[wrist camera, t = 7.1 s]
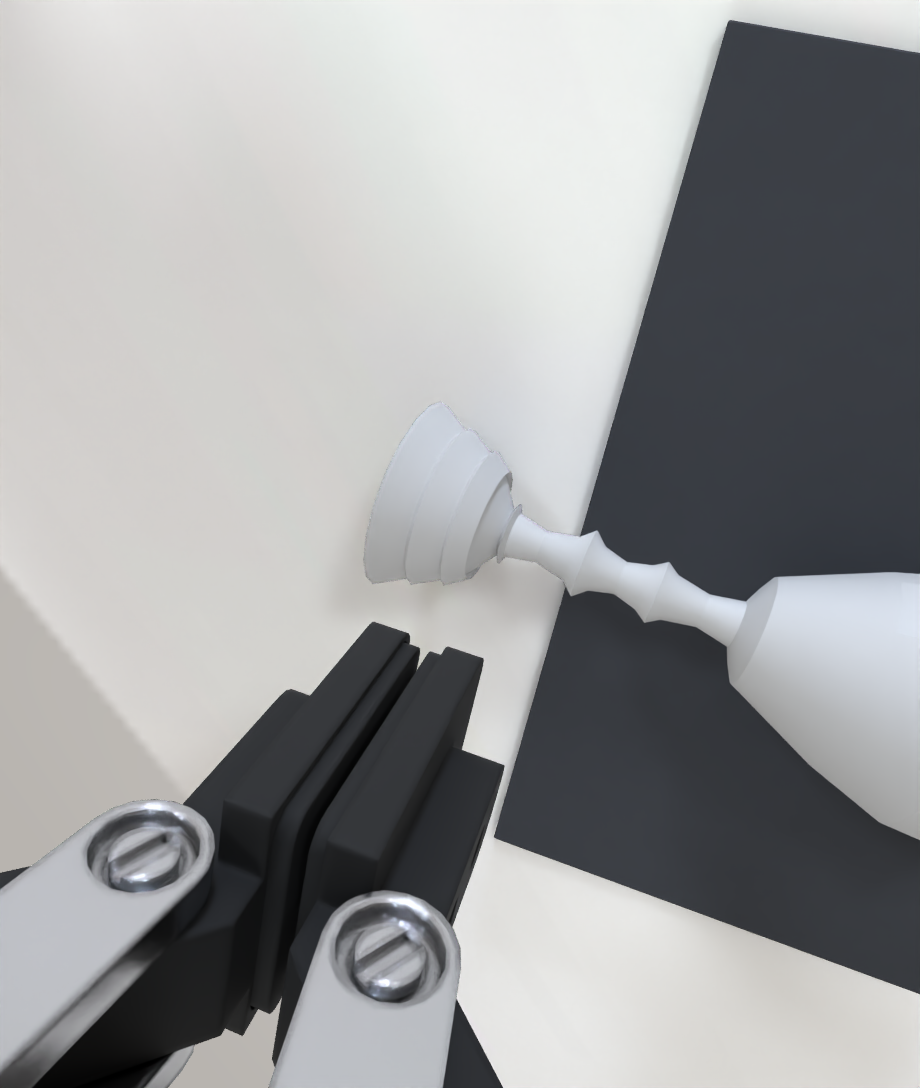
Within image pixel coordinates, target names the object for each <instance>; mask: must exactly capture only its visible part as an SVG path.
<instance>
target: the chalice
mask: <svg viewBox="0 0 920 1088" xmlns="http://www.w3.org/2000/svg"><path fill="white" fill-rule="evenodd" d="M512 480H513V479H512V473H511V471H510V470H509V468H508V466H507V465H506V463H505V462H504V460H503V458H502V457H501V455H500V453H498V452H497V451H494V452H491V451H490V450H489V448H488V447H487V446H486V444H485V443H484V442H483V441H482V439H481V438H480V437H479V435H478V434H477V433H476V432H475V431H474V430H472V429H471V428H470V429H468V430H466V429H465V428H464V426H463V425H462V424H461V423H460V421H459V420H458V419H457V417H456V416H455V415H454V413H453V412H452V411H451V409H450V408H449V407H448V406H447V405H445V404H444V403H442V402H438V403H436V404H433V405H430V406H429V407H428V408H427V409H426V410H425V411H424V412H423V413H422V414H421V415H420V416H419V417H418V418H417V419H416V420H415V421H414V423H413V424H412V426H411V427H410V429H409V430H408V432H407V433H406V435H405V436H404V438H403V439H402V441H401V442H400V444H399V446H398V448H397V450H396V452H395V454H394V456H393V458H392V461H391V463H390V465H389V467H388V469H387V471H386V473H385V475H384V478H383V481H382V484H381V486H380V489H379V492H378V494H377V497H376V500H375V503H374V506H373V510H372V514H371V518H370V522H369V526H368V530H367V534H366V541H365V551H364V566H365V573H366V577H367V578H368V579H369V580H370V582H371V583H372V584H376V583H383V582H389V581H396V580H402V579H407V580H408V581H409V582H410V584H411V585H412V584H418V583H425V582H431V581H438V580H441V582H442V583H443V585H448V584H452V583H455V582H459V581H462V580H466V579H470V578H472V577H473V576H474V575H475V573H476V572H477V571H478V569H479V568H480V566H481V565H482V564H484V563H485V562H487V561H488V560H490V559H491V558H493V557H494V556H496V555H497V563H500V562H501V561H502V560H503V559H504V558H505V557H509V558H514V559H520V560H525V561H530V562H536V563H537V564H539V565H540V566H542V567H543V568H545V569H546V570H548V571H549V572H551V573H553V574H554V575H556V576H557V577H559V578H560V579H562V580H563V582H564V584H565V586H566V588H567V590H568V592H569V594H570V596H574V595H577V594H579V593H582V592H585V591H595V592H603V593H611V594H615V595H616V596H617V597H619V598H620V599H621V600H623V601H624V602H626V603H627V604H628V605H630V606H631V607H632V608H634V609H635V610H636V612H637V613H638V614H639V616H640V617H641V619H642V620H643V622H644V623H646V622H651V621H656V620H664V621H669V622H674V623H679V624H684V625H689V626H694V627H697V628H698V629H700V630H702V631H703V632H705V633H706V634H708V635H710V636H711V637H713V638H714V639H716V640H717V641H719V642H721V643H722V644H724V645H725V646H727V665H728V673H729V681H730V683H731V685H732V686H733V687H734V688H735V689H736V690H737V691H738V692H739V693H740V694H741V695H742V696H743V697H744V698H745V699H746V700H747V701H748V702H749V703H750V704H751V705H752V706H753V707H754V708H755V709H756V710H757V711H758V713H759V714H760V715H761V716H762V717H763V718H764V719H765V720H766V721H767V722H768V723H769V724H770V725H771V726H772V727H773V728H774V729H775V730H776V731H777V732H778V733H779V734H780V735H781V736H782V737H783V738H784V739H785V740H786V741H787V742H788V743H789V744H790V746H791V747H792V748H793V749H794V750H795V751H796V752H797V753H798V754H799V755H800V756H801V757H802V758H803V759H804V760H805V761H806V762H807V763H808V764H809V765H810V766H811V767H812V768H814V769H815V770H816V771H817V772H819V773H820V774H821V775H822V776H823V777H825V778H826V779H827V780H828V781H829V782H831V783H832V784H833V785H834V786H836V787H837V788H838V789H839V790H840V791H842V792H843V793H844V794H845V795H847V796H848V797H849V798H850V799H851V800H853V801H854V802H855V803H856V804H858V805H859V806H860V807H861V808H862V809H864V810H865V811H866V812H867V813H868V814H870V815H871V816H872V817H873V818H875V819H876V820H877V821H878V822H879V823H882V824H884V825H886V826H889V827H891V828H893V829H896V830H898V831H900V832H902V833H905V834H907V835H909V836H912V837H914V838H916V839H919V840H920V574H912V573H898V572H883V573H859V574H835V575H811V576H787V577H774V578H773V579H771V580H770V581H769V582H768V583H766V584H765V585H764V586H762V587H761V588H760V589H759V590H758V591H757V592H756V593H755V594H753V595H752V596H751V597H750V598H749V599H748V600H747V601H740V600H735V599H730V598H725V597H720V596H715V595H710V594H708V593H706V592H705V591H703V590H702V589H700V588H698V587H697V586H695V585H694V584H692V583H690V582H689V581H687V580H685V579H684V578H682V577H681V576H679V575H678V574H677V572H676V571H675V569H674V568H673V567H672V565H671V564H670V562H667V563H662V564H657V565H647V564H639V563H631V562H626V561H625V560H623V559H622V558H621V557H619V556H618V555H616V554H615V553H614V552H612V551H611V550H609V549H608V548H607V547H606V546H605V544H604V542H603V540H602V538H601V536H600V535H599V533H598V531H594V532H592V533H589V534H586V535H583V536H581V537H579V536H573V535H567V534H562V533H556V532H550V531H547V530H546V529H544V528H543V527H541V526H539V525H538V524H536V523H535V522H533V521H532V520H530V519H529V518H527V517H526V516H524V515H523V514H522V505H521V504H520V505H519V506H518V507H517V508H516V509H515V510H514V506H513V502H512V497H511V488H512Z"/></svg>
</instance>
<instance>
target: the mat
mask: <svg viewBox="0 0 920 1088" xmlns="http://www.w3.org/2000/svg"><path fill="white" fill-rule="evenodd" d="M594 531H598V533H599V535H600V536H601V538H602V540H603V542H604V544H605V546H606V547H607V548H608V549H609V550H611V551H612V552H614V553H615V554H616V555H618V556H619V557H621V558H622V559H623V560H625V561H626V562H631V563H639V564H647V565H657V564H662V563H667V562H670V564H671V565H672V567H673V568H674V569H675V571H676V572H677V574H678V575H679V576H681V577H682V578H684V579H685V580H687V581H689V582H690V583H692V584H694V585H695V586H697V587H698V588H700V589H702V590H703V591H705V592H706V593H708V594H710V595H715V596H720V597H725V598H730V599H735V600H740V601H747V600H748V599H749V598H750V597H751V596H752V595H753V594H755V593H756V592H757V591H758V590H759V589H760V588H761V587H762V586H764V585H765V584H766V583H768V582H769V581H770V580H771V579H773V578H774V577H787V576H811V575H835V574H859V573H883V572H898V573H912V574H920V53H915V52H910V51H904V50H898V49H893V48H887V47H881V46H875V45H870V44H864V43H858V42H853V41H847V40H841V39H835V38H830V37H824V36H818V35H813V34H807V33H801V32H795V31H790V30H784V29H778V28H772V27H767V26H761V25H755V24H750V23H744V22H738V21H732V20H730V21H729V22H728V24H727V27H726V31H725V34H724V38H723V41H722V45H721V48H720V51H719V55H718V58H717V62H716V65H715V69H714V72H713V76H712V79H711V83H710V86H709V90H708V93H707V97H706V100H705V104H704V107H703V111H702V114H701V118H700V121H699V125H698V128H697V132H696V135H695V139H694V142H693V146H692V149H691V152H690V156H689V159H688V163H687V166H686V170H685V173H684V177H683V180H682V184H681V187H680V191H679V194H678V198H677V201H676V205H675V208H674V212H673V215H672V219H671V222H670V226H669V229H668V233H667V236H666V240H665V243H664V247H663V250H662V254H661V257H660V260H659V264H658V267H657V271H656V274H655V278H654V281H653V285H652V288H651V292H650V295H649V299H648V302H647V306H646V309H645V313H644V316H643V320H642V323H641V327H640V330H639V334H638V337H637V341H636V344H635V348H634V351H633V355H632V358H631V361H630V365H629V368H628V372H627V375H626V379H625V382H624V386H623V389H622V393H621V396H620V400H619V403H618V407H617V410H616V414H615V417H614V421H613V424H612V428H611V431H610V435H609V438H608V442H607V445H606V449H605V452H604V456H603V459H602V462H601V466H600V469H599V473H598V476H597V480H596V483H595V487H594V490H593V494H592V497H591V501H590V504H589V508H588V511H587V515H586V518H585V522H584V525H583V529H582V532H581V536H583V535H586V534H589V533H592V532H594ZM581 536H580V537H581ZM494 838H496V839H499V840H501V841H504V842H507V843H510V844H512V845H515V846H518V847H521V848H523V849H526V850H529V851H531V852H534V853H537V854H540V855H542V856H545V857H548V858H550V859H553V860H556V861H559V862H561V863H564V864H567V865H570V866H572V867H575V868H578V869H580V870H583V871H586V872H589V873H591V874H594V875H597V876H600V877H602V878H605V879H608V880H610V881H613V882H616V883H619V884H621V885H624V886H627V887H629V888H632V889H635V890H638V891H640V892H643V893H646V894H649V895H651V896H654V897H657V898H659V899H662V900H665V901H668V902H670V903H673V904H676V905H679V906H681V907H684V908H687V909H689V910H692V911H695V912H698V913H700V914H703V915H706V916H709V917H711V918H714V919H717V920H719V921H722V922H725V923H728V924H730V925H733V926H736V927H738V928H741V929H744V930H747V931H749V932H752V933H755V934H758V935H760V936H763V937H766V938H768V939H771V940H774V941H777V942H779V943H782V944H785V945H788V946H790V947H793V948H796V949H798V950H801V951H804V952H807V953H809V954H812V955H815V956H817V957H820V958H823V959H826V960H828V961H831V962H834V963H837V964H839V965H842V966H845V967H847V968H850V969H853V970H856V971H858V972H861V973H864V974H867V975H869V976H872V977H875V978H877V979H880V980H883V981H886V982H888V983H891V984H894V985H896V986H899V987H902V988H905V989H907V990H910V991H913V992H916V993H918V994H920V840H919V839H916V838H914V837H912V836H909V835H907V834H905V833H902V832H900V831H898V830H896V829H893V828H891V827H889V826H886V825H884V824H882V823H879V822H878V821H877V820H876V819H875V818H873V817H872V816H871V815H870V814H868V813H867V812H866V811H865V810H864V809H862V808H861V807H860V806H859V805H858V804H856V803H855V802H854V801H853V800H851V799H850V798H849V797H848V796H847V795H845V794H844V793H843V792H842V791H840V790H839V789H838V788H837V787H836V786H834V785H833V784H832V783H831V782H829V781H828V780H827V779H826V778H825V777H823V776H822V775H821V774H820V773H819V772H817V771H816V770H815V769H814V768H812V767H811V766H810V765H809V764H808V763H807V762H806V761H805V760H804V759H803V758H802V757H801V756H800V755H799V754H798V753H797V752H796V751H795V750H794V749H793V748H792V747H791V746H790V744H789V743H788V742H787V741H786V740H785V739H784V738H783V737H782V736H781V735H780V734H779V733H778V732H777V731H776V730H775V729H774V728H773V727H772V726H771V725H770V724H769V723H768V722H767V721H766V720H765V719H764V718H763V717H762V716H761V715H760V714H759V713H758V711H757V710H756V709H755V708H754V707H753V706H752V705H751V704H750V703H749V702H748V701H747V700H746V699H745V698H744V697H743V696H742V695H741V694H740V693H739V692H738V691H737V690H736V689H735V688H734V687H733V686H732V685H731V683H730V681H729V673H728V665H727V646H725V645H724V644H722V643H721V642H719V641H717V640H716V639H714V638H713V637H711V636H710V635H708V634H706V633H705V632H703V631H702V630H700V629H698V628H697V627H694V626H689V625H684V624H679V623H674V622H669V621H664V620H656V621H651V622H646V623H644V622H643V620H642V619H641V617H640V616H639V614H638V613H637V612H636V610H635V609H634V608H632V607H631V606H630V605H628V604H627V603H626V602H624V601H623V600H621V599H620V598H619V597H617V596H616V595H615V594H611V593H603V592H595V591H585V592H582V593H579V594H577V595H574V596H570V594H569V592H568V590H567V588H565V591H564V595H563V598H562V602H561V605H560V609H559V612H558V616H557V619H556V623H555V626H554V630H553V633H552V637H551V640H550V644H549V647H548V651H547V654H546V658H545V661H544V665H543V668H542V671H541V675H540V678H539V682H538V685H537V689H536V692H535V696H534V699H533V703H532V706H531V710H530V713H529V717H528V720H527V724H526V727H525V731H524V734H523V738H522V741H521V745H520V748H519V752H518V755H517V759H516V762H515V766H514V769H513V773H512V776H511V779H510V783H509V786H508V790H507V793H506V797H505V800H504V804H503V807H502V811H501V814H500V818H499V821H498V825H497V828H496V832H495V835H494Z"/></svg>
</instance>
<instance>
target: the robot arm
mask: <svg viewBox="0 0 920 1088" xmlns="http://www.w3.org/2000/svg"><path fill="white" fill-rule="evenodd" d="M409 643H410V635H409V633H406V632H403V631H400V630H397V629H394V628H391V627H388V626H385V625H382V624H379V623H376V622H372V623H371V624H370V625H369V626H368V627H367V628H366V629H365V631H364V632H363V633H362V634H361V635H360V637H359V638H358V639H357V640H356V641H355V643H354V644H353V645H352V646H351V647H350V649H349V650H348V651H347V652H346V653H345V655H344V656H343V657H342V658H341V659H340V661H339V662H338V663H337V664H336V665H335V667H334V668H333V669H332V670H331V671H330V672H329V674H328V675H327V676H326V677H325V678H324V680H323V681H322V682H321V683H320V684H319V686H318V687H317V688H316V689H315V690H314V692H313V693H312V694H311V695H310V696H309V695H306V694H304V693H301V692H298V691H295V690H292V689H290V690H286V691H285V692H284V693H283V694H282V695H281V696H280V697H279V698H278V699H277V700H276V701H275V702H274V703H273V704H272V705H271V707H270V708H269V709H268V710H267V711H266V712H265V713H264V714H263V715H262V717H261V718H260V719H259V720H258V721H257V722H256V723H255V724H254V725H253V727H252V728H251V729H250V730H249V731H248V732H247V733H246V734H245V735H244V737H243V738H242V739H241V740H240V741H239V742H238V743H237V744H236V746H235V747H234V748H233V749H232V750H231V751H230V752H229V753H228V754H227V756H226V757H225V758H224V759H223V760H222V761H221V762H220V763H219V764H218V766H217V767H216V768H215V769H214V770H213V771H212V772H211V773H210V774H209V776H208V777H207V778H206V779H205V780H204V781H203V782H202V783H201V785H200V786H199V787H198V788H197V789H196V790H195V791H194V792H193V793H192V795H191V796H190V797H189V798H188V799H187V800H186V801H185V802H184V803H183V805H182V804H180V803H177V802H174V801H166V800H158V799H151V800H140V801H132V802H129V803H126V804H123V805H120V806H117V807H113V808H111V809H109V810H108V811H106V812H104V813H103V814H101V815H99V816H97V817H96V818H94V819H93V820H91V821H90V822H89V823H87V824H86V825H85V826H83V827H82V828H81V829H79V830H78V831H77V832H76V833H74V834H73V835H72V836H70V837H69V838H68V839H66V840H65V841H64V842H62V843H61V844H60V845H58V846H57V847H56V848H54V849H53V850H52V851H50V852H49V853H48V854H46V855H45V856H44V857H43V858H41V859H40V860H38V861H37V862H36V863H34V864H33V865H32V866H30V867H25V868H20V869H16V870H11V871H7V872H2V873H0V1088H168V1087H169V1086H170V1085H171V1083H172V1082H173V1081H174V1080H175V1078H176V1077H177V1076H178V1075H179V1074H180V1072H181V1071H182V1070H183V1068H184V1066H185V1065H186V1063H187V1061H188V1060H189V1058H190V1056H191V1055H192V1053H193V1050H194V1046H195V1044H198V1043H201V1042H204V1041H207V1040H209V1039H212V1038H215V1037H218V1036H220V1035H221V1034H222V1032H223V1031H224V1029H225V1028H226V1029H228V1030H230V1031H233V1032H235V1033H237V1034H239V1035H242V1036H243V1035H244V1033H245V1031H246V1029H247V1028H248V1026H249V1024H250V1022H251V1021H252V1019H253V1017H254V1015H255V1014H256V1012H257V1010H258V1009H260V1010H262V1011H264V1012H266V1013H269V1014H270V1013H271V1012H273V1010H274V1009H275V1008H276V1006H277V1004H278V1003H279V1001H280V999H281V997H282V1001H281V1007H280V1013H279V1019H278V1025H277V1031H276V1038H275V1044H274V1050H273V1057H272V1060H273V1063H274V1066H275V1070H274V1072H273V1075H272V1078H271V1081H270V1084H269V1087H268V1088H503V1087H502V1085H501V1083H500V1081H499V1079H498V1077H497V1075H496V1073H495V1071H494V1070H493V1068H492V1066H491V1064H490V1062H489V1060H488V1058H487V1056H486V1054H485V1052H484V1050H483V1049H482V1047H481V1045H480V1043H479V1041H478V1039H477V1037H476V1035H475V1033H474V1031H473V1030H472V1028H471V1026H470V1024H469V1022H468V1020H467V1018H466V1016H465V1014H464V1012H463V1010H462V1009H461V1007H460V1005H459V1003H458V1001H457V999H456V997H457V990H458V983H459V977H460V970H461V953H460V946H459V943H458V940H457V937H456V935H455V932H454V929H453V928H452V926H453V923H454V921H455V918H456V915H457V912H458V910H459V907H460V904H461V901H462V899H463V896H464V893H465V890H466V888H467V885H468V882H469V879H470V877H471V874H472V871H473V868H474V865H475V863H476V860H477V857H478V854H479V851H480V848H481V845H482V842H483V839H484V836H485V833H486V830H487V826H488V823H489V820H490V817H491V813H492V810H493V807H494V803H495V800H496V796H497V793H498V789H499V786H500V782H501V779H502V775H503V771H504V765H502V764H499V763H496V762H494V761H491V760H488V759H485V758H482V757H480V756H477V755H474V754H471V753H468V752H466V751H463V750H462V746H463V742H464V738H465V735H466V731H467V727H468V723H469V719H470V715H471V711H472V707H473V703H474V699H475V695H476V691H477V687H478V684H479V680H480V676H481V672H482V667H483V661H484V660H483V658H480V657H477V656H474V655H471V654H468V653H465V652H462V651H459V650H456V649H453V648H450V647H446V648H445V650H444V651H443V653H442V654H441V655H439V654H437V653H434V652H429V653H428V654H427V656H426V657H425V659H424V660H423V662H422V663H421V665H420V666H419V668H418V670H417V665H418V661H419V655H420V648H419V647H416V646H413V645H410V644H409ZM416 670H417V671H416Z"/></svg>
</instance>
